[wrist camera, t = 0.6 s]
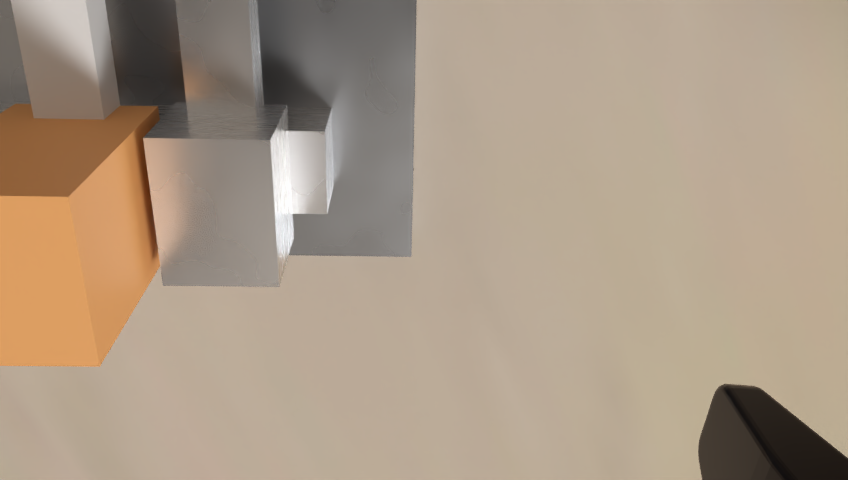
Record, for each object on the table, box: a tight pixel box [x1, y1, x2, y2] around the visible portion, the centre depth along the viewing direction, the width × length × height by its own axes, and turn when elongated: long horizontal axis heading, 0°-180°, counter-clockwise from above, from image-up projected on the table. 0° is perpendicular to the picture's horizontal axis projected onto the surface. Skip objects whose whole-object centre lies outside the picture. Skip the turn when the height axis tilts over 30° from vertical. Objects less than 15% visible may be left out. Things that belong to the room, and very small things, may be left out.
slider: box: [0, 0, 160, 366], centre depth 15 cm, size 7×3×7 cm, turn 179°
